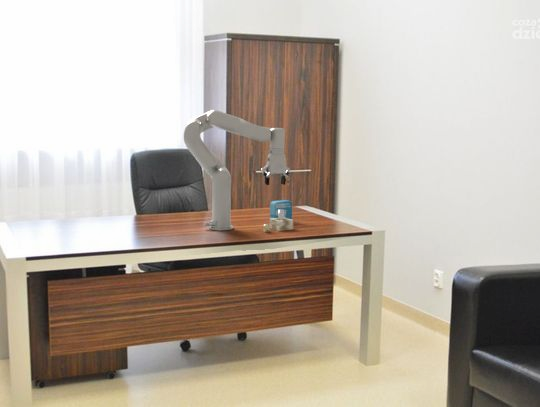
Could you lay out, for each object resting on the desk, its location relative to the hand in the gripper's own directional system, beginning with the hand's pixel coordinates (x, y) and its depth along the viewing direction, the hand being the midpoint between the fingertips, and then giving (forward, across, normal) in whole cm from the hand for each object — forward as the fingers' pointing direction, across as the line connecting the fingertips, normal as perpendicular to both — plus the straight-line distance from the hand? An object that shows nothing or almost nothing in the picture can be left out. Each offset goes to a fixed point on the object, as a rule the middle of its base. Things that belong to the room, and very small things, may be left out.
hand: (275, 184), depth 376 cm
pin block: (+23, +3, -3) cm, 23 cm away
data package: (+23, +12, +12) cm, 29 cm away
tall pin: (+23, +3, -3) cm, 24 cm away
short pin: (+23, -8, -7) cm, 26 cm away
